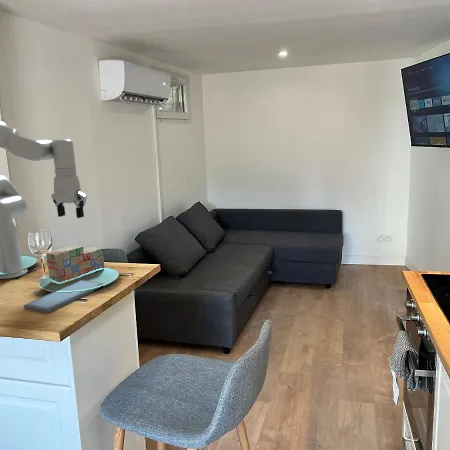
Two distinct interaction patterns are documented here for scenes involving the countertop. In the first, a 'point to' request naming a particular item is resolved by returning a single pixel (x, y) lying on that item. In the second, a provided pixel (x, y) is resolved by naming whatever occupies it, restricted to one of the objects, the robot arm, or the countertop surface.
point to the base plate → (61, 297)
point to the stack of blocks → (73, 262)
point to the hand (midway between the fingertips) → (71, 216)
